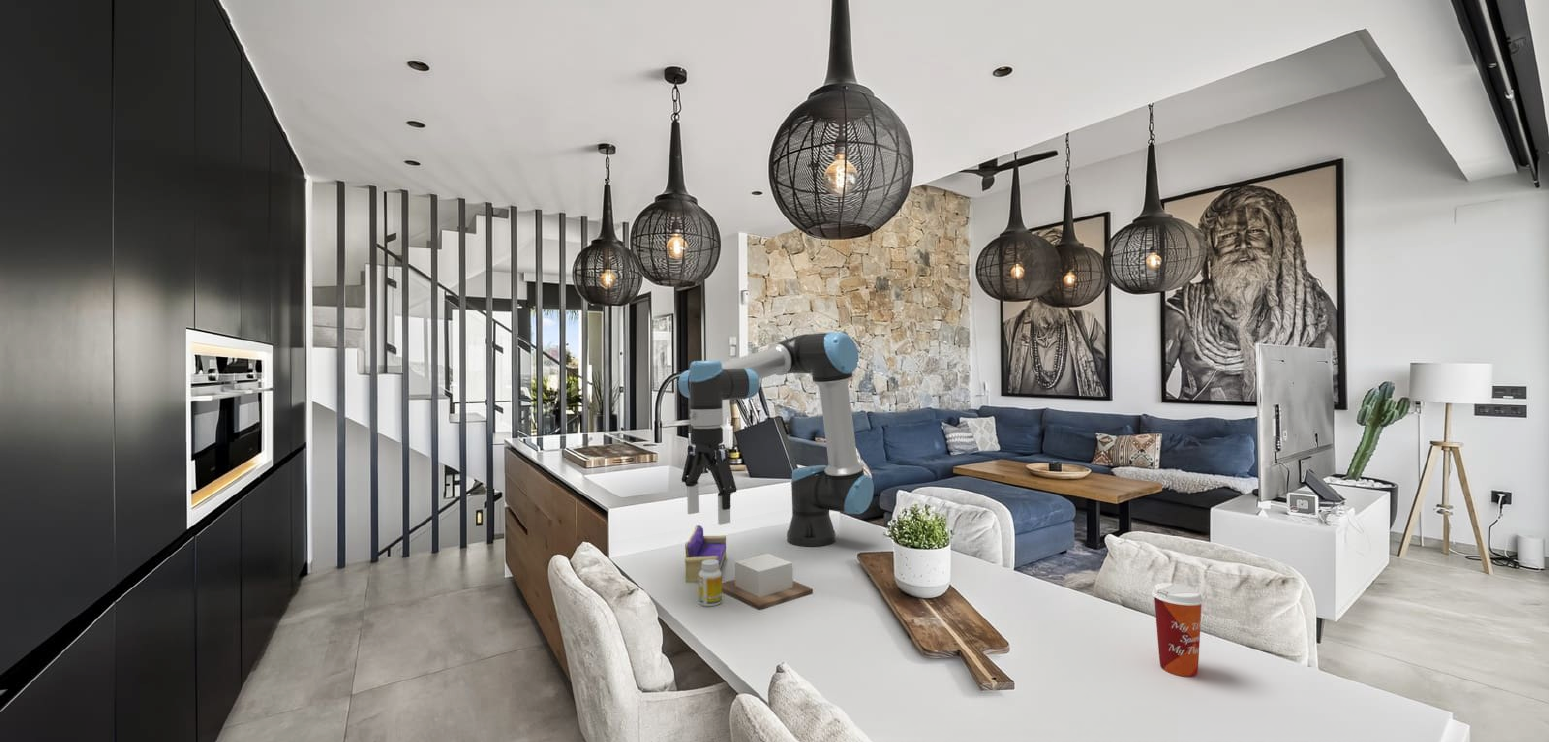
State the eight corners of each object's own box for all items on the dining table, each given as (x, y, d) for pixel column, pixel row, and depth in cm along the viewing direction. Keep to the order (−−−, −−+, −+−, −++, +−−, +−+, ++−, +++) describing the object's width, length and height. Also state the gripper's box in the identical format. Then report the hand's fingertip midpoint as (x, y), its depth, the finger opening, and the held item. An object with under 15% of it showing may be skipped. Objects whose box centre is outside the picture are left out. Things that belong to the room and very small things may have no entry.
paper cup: (1181, 683, 105) (1179, 600, 105) (1142, 662, 113) (1141, 585, 113) (1216, 675, 108) (1215, 594, 108) (1176, 656, 115) (1175, 580, 115)
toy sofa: (718, 583, 159) (717, 543, 159) (684, 584, 160) (683, 544, 160) (727, 558, 180) (726, 523, 180) (697, 559, 181) (696, 523, 181)
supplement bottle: (694, 605, 145) (693, 563, 145) (706, 597, 150) (705, 557, 150) (715, 608, 143) (714, 566, 142) (726, 600, 147) (725, 559, 147)
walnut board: (767, 574, 165) (767, 570, 165) (812, 593, 151) (812, 589, 151) (716, 588, 155) (716, 584, 155) (759, 610, 141) (759, 605, 141)
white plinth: (767, 577, 160) (767, 553, 160) (792, 587, 152) (792, 562, 152) (735, 586, 154) (734, 561, 154) (759, 597, 146) (759, 571, 146)
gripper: (666, 424, 153) (668, 511, 153) (722, 431, 134) (724, 531, 134) (693, 422, 158) (694, 507, 158) (751, 429, 138) (752, 525, 138)
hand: (708, 518), depth 146 cm, fingers open, 13 cm apart
